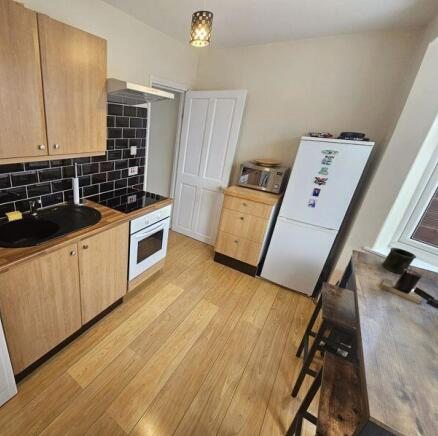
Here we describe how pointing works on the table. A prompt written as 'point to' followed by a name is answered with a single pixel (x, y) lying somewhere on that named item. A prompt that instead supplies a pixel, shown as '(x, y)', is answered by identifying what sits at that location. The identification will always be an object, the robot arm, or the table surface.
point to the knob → (408, 280)
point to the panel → (390, 286)
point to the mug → (398, 260)
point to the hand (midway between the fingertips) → (428, 289)
